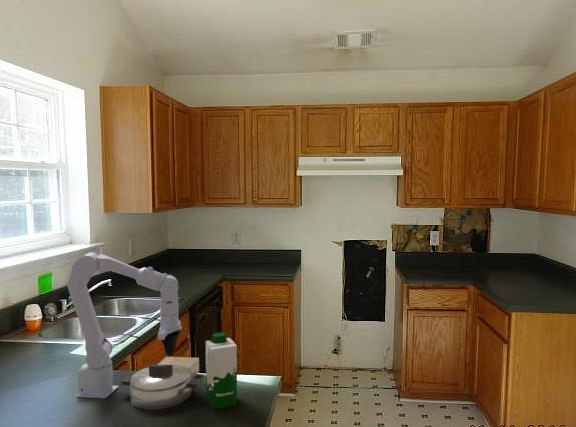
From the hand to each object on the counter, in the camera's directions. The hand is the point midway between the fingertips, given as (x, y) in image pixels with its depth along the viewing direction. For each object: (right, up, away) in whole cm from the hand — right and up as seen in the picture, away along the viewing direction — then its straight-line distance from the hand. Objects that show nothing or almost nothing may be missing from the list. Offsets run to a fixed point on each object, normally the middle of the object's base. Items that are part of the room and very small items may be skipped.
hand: (170, 354), depth 139 cm
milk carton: (+19, -11, -12) cm, 25 cm away
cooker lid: (-1, -5, -7) cm, 9 cm away
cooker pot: (0, -10, -2) cm, 10 cm away
